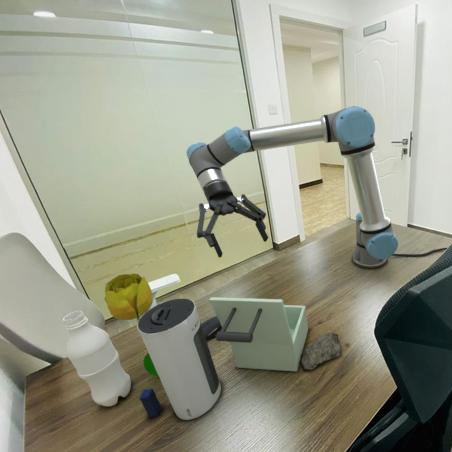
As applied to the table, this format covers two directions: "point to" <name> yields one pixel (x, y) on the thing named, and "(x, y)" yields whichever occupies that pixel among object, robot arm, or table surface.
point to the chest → (275, 346)
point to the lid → (252, 320)
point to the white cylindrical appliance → (181, 356)
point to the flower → (130, 303)
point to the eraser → (150, 402)
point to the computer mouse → (211, 327)
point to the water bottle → (95, 360)
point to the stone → (321, 351)
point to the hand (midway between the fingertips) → (244, 247)
